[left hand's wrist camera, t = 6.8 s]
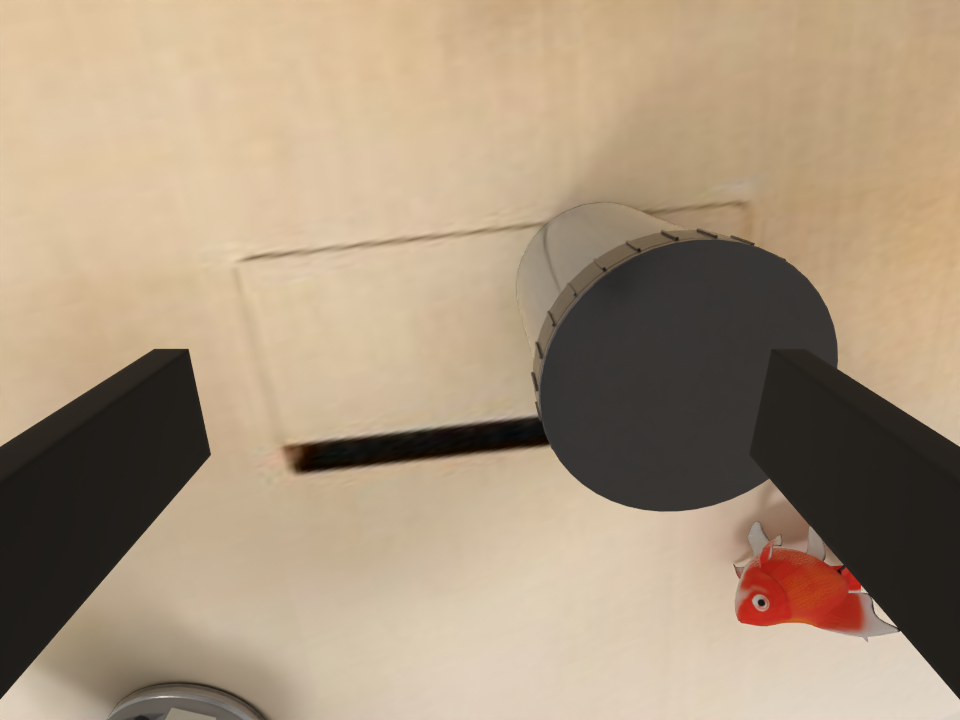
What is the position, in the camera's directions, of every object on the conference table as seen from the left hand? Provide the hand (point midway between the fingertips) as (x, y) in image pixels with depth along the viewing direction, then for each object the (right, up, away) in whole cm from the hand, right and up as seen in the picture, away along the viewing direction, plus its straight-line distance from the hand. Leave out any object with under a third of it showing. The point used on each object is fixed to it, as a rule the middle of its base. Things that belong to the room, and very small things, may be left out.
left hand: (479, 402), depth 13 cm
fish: (+25, -12, +29) cm, 40 cm away
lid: (+8, 0, +8) cm, 11 cm away
